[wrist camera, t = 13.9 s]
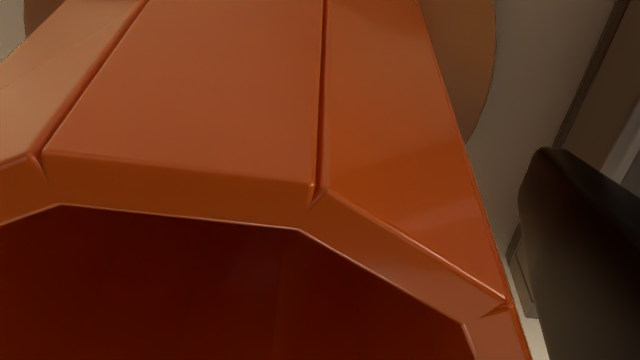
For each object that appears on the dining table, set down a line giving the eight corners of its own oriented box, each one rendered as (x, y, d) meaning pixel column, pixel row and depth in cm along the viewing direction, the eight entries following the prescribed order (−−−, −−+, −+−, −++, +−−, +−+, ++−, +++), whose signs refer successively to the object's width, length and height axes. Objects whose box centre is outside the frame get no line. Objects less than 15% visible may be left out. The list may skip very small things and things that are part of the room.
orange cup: (392, 217, 13) (438, 596, 7) (111, 185, 12) (-77, 559, 7) (471, -76, 9) (692, 227, 3) (75, -133, 9) (-396, 102, 3)
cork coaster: (429, 247, 14) (432, 262, 13) (66, 208, 13) (58, 222, 13) (562, -158, 9) (573, -152, 8) (-12, -245, 8) (-29, -243, 8)
